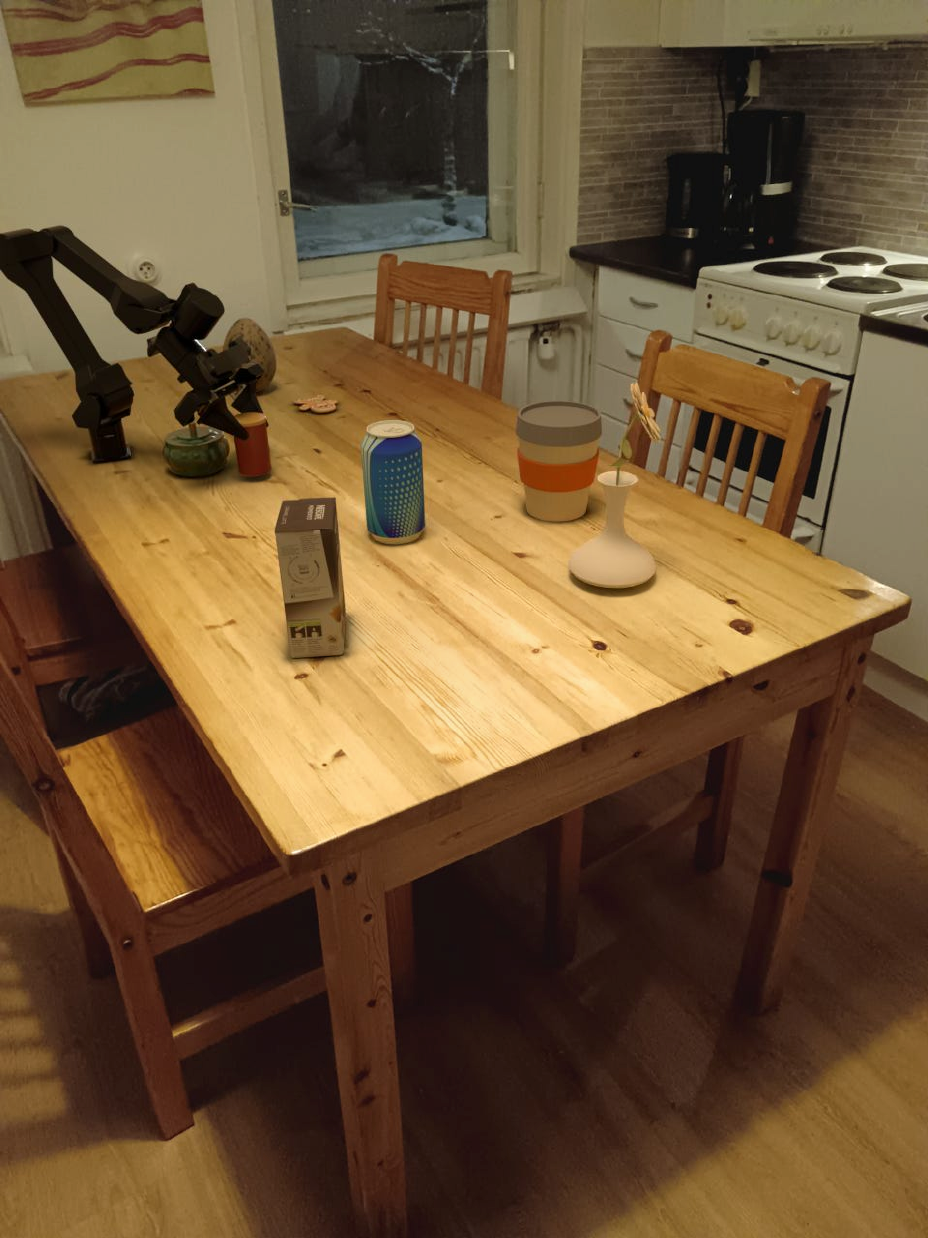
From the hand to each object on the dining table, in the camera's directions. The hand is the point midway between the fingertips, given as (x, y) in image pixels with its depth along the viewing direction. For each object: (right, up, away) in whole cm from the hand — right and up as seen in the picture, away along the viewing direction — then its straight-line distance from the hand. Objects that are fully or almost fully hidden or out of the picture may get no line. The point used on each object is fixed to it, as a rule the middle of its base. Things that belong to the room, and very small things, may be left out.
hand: (257, 433), depth 155 cm
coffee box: (+16, -32, -40) cm, 54 cm away
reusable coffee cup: (+47, -14, -9) cm, 50 cm away
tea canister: (-1, -5, +4) cm, 7 cm away
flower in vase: (+53, -24, -28) cm, 65 cm away
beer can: (+24, -18, -16) cm, 34 cm away
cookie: (+4, +12, +36) cm, 38 cm away
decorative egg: (-11, +17, +46) cm, 50 cm away
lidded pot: (-12, -4, +8) cm, 15 cm away
